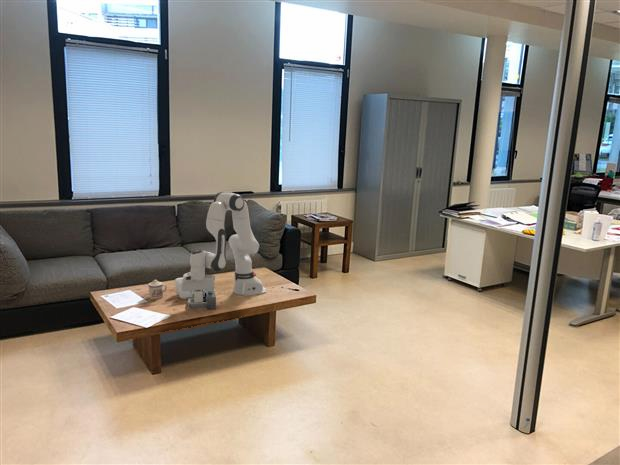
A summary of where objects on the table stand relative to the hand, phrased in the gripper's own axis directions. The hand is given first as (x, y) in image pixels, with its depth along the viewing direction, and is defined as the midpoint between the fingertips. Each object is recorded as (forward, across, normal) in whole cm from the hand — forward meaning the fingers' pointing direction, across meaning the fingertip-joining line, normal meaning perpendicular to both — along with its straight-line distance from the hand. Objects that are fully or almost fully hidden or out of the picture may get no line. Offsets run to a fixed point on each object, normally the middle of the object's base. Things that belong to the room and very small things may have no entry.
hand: (198, 296), depth 304 cm
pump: (+3, 0, 0) cm, 3 cm away
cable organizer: (+7, +5, -20) cm, 22 cm away
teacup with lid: (+7, +24, -22) cm, 33 cm away
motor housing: (+6, -2, 0) cm, 7 cm away
